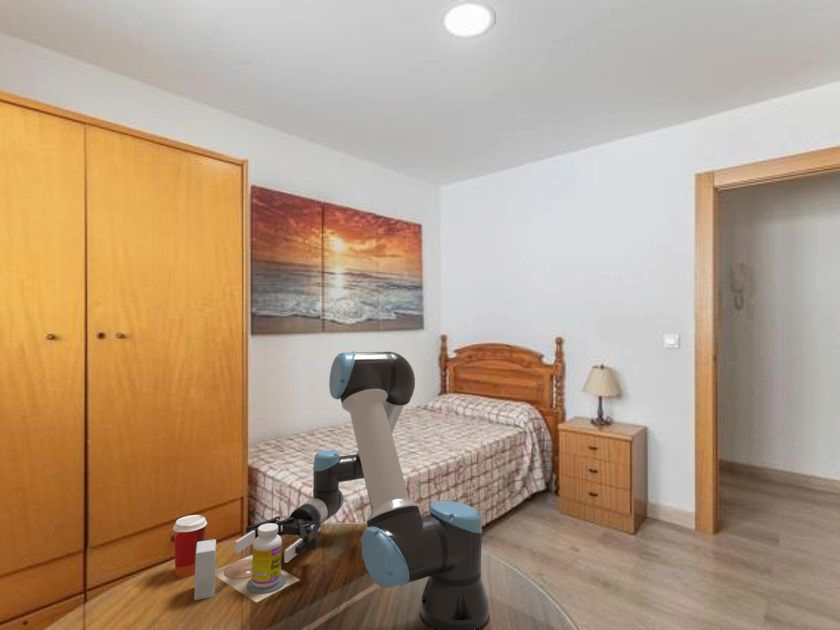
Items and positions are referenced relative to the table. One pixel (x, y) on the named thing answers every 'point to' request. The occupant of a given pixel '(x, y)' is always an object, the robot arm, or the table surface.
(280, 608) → the table surface
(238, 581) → the birch board
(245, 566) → the terracotta pad
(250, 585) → the slate pad
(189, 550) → the paper cup
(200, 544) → the skincare box
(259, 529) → the supplement bottle
